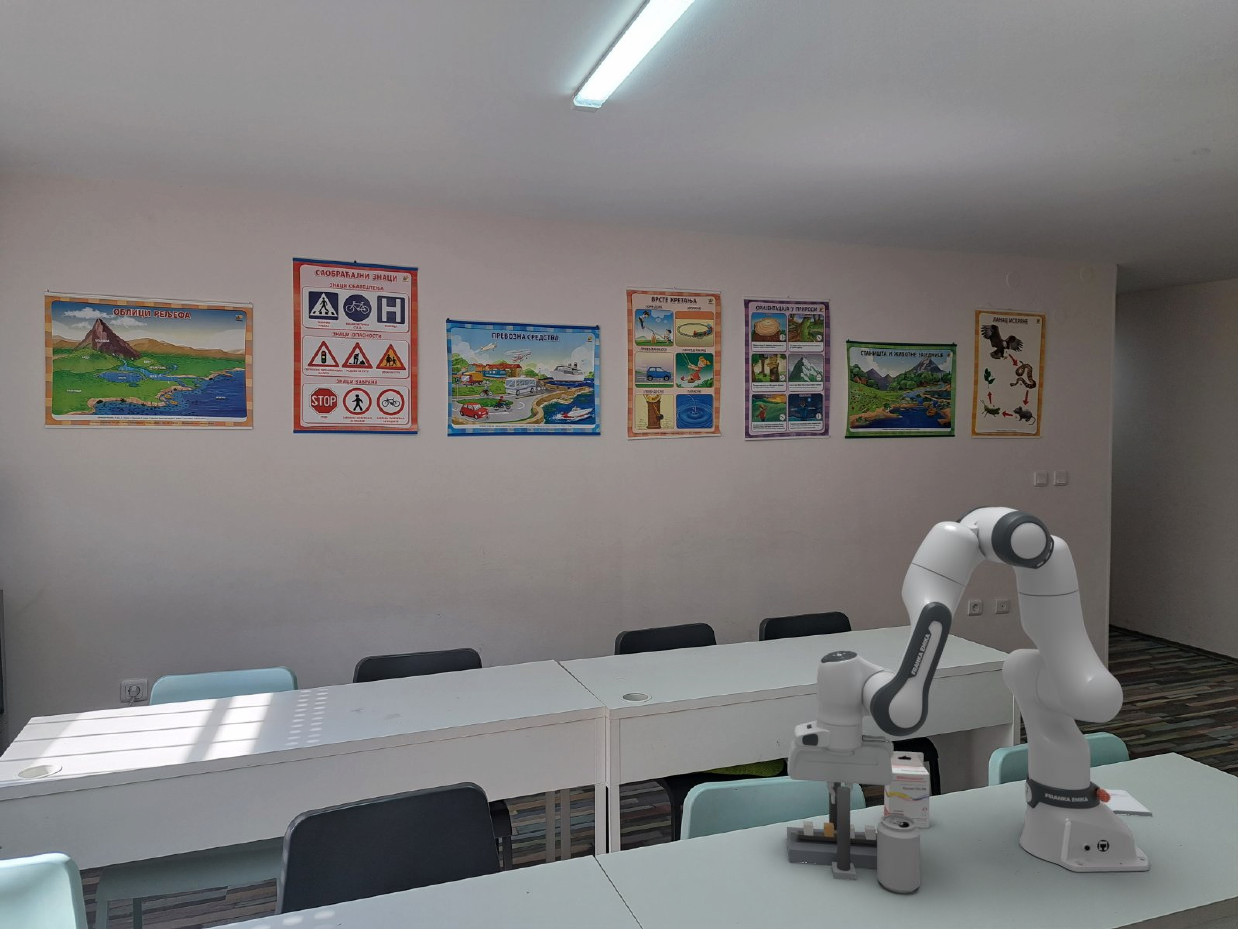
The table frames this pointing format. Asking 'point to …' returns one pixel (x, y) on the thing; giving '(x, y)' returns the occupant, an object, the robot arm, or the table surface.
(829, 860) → the breaker panel
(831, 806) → the disc
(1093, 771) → the table surface
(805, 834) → the breaker paddles
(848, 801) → the post
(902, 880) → the can
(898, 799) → the ink cartridge box
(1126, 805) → the external hard drive
